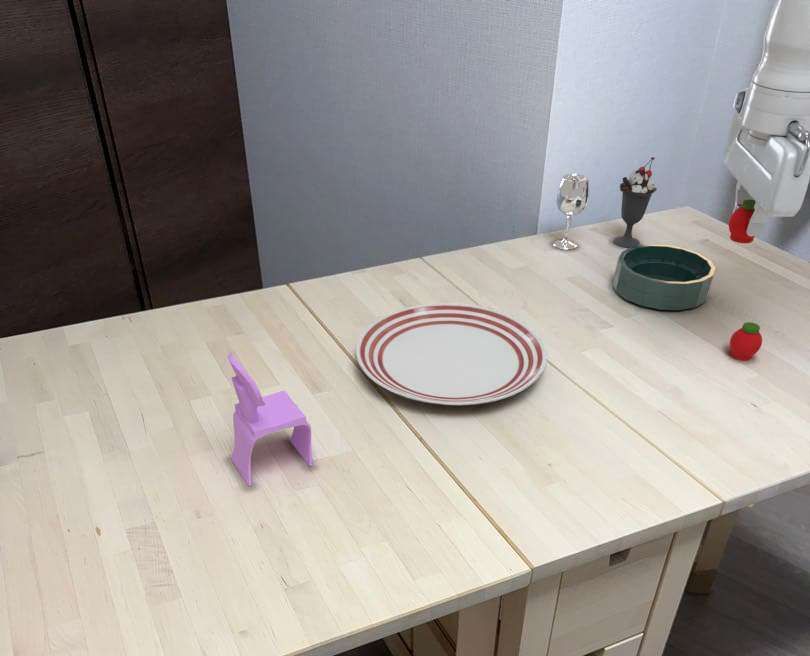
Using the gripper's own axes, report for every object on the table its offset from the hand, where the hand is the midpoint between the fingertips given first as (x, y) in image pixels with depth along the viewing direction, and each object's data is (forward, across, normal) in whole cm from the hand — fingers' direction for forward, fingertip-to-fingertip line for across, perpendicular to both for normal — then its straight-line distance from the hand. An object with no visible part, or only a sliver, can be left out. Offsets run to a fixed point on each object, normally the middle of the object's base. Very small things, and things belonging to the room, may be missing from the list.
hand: (745, 226), depth 100 cm
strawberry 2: (+19, -1, -5) cm, 20 cm away
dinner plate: (+19, -6, +39) cm, 44 cm away
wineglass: (+19, +40, +16) cm, 47 cm away
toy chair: (+19, -30, +61) cm, 71 cm away
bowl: (+19, +20, +3) cm, 28 cm away
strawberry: (+2, 0, 0) cm, 2 cm away
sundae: (+19, +41, +4) cm, 46 cm away
